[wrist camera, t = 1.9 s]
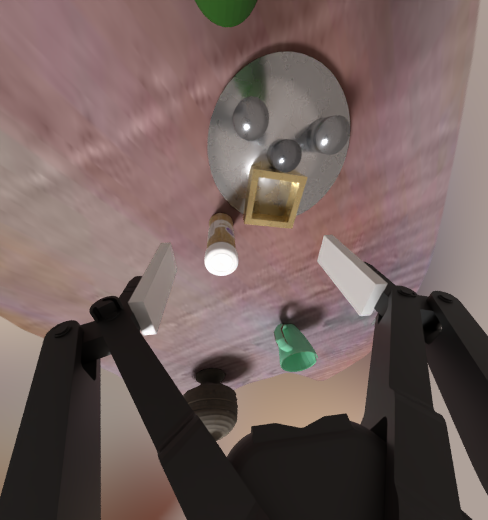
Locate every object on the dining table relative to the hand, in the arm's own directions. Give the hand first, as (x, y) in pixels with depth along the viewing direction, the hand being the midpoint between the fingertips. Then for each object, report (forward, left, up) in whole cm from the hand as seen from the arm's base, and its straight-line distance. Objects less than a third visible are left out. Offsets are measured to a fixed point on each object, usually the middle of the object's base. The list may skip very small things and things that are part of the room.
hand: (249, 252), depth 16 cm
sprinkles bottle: (-2, -6, -20) cm, 21 cm away
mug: (+19, -36, -20) cm, 46 cm away
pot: (-1, -64, -20) cm, 67 cm away
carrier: (+6, +7, -20) cm, 22 cm away
